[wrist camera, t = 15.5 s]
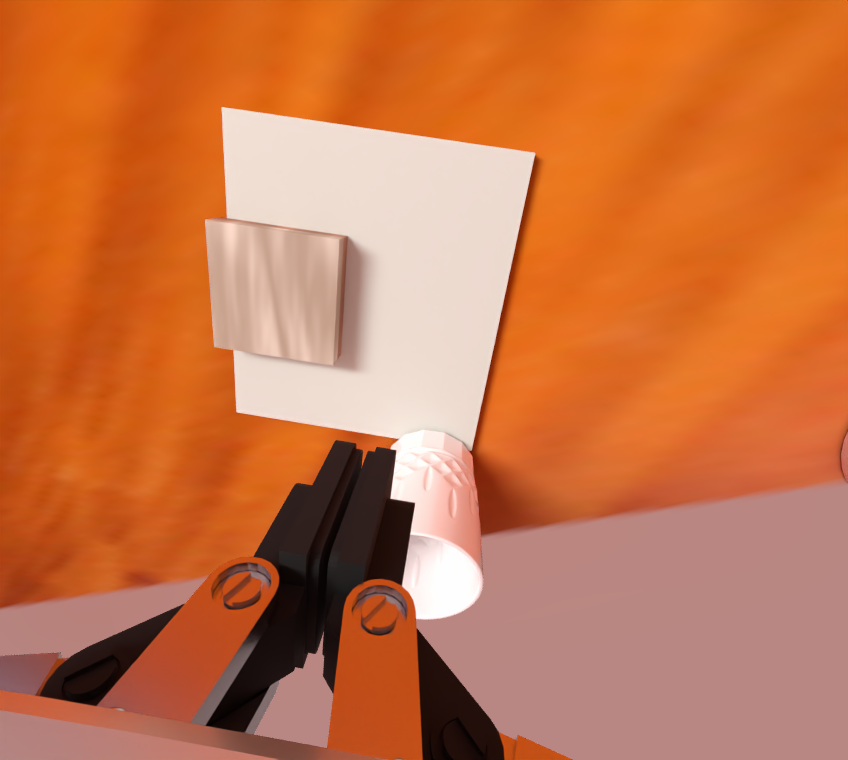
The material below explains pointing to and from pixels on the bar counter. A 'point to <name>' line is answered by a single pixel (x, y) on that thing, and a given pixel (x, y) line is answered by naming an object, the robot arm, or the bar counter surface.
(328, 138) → the mat
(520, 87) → the bar counter surface
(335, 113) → the bar counter surface
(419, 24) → the bar counter surface
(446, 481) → the white cup
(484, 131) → the bar counter surface
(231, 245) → the tile
